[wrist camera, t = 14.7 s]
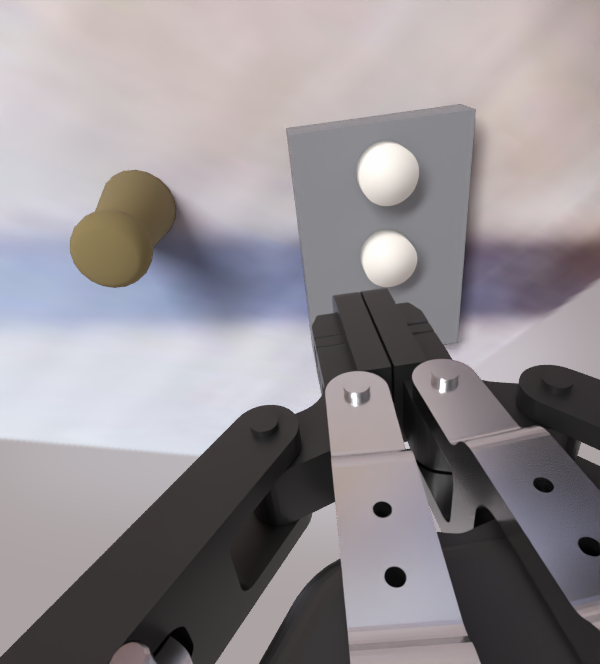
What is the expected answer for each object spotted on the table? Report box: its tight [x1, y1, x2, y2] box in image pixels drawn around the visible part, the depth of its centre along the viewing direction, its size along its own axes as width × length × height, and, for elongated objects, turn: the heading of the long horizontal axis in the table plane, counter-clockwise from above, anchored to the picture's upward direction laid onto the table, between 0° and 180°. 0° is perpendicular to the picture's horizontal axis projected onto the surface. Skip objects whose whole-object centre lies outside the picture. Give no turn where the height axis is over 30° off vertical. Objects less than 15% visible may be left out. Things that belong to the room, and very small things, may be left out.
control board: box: [286, 104, 476, 361], centre depth 42 cm, size 21×14×3 cm, turn 7°
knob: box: [356, 140, 419, 206], centre depth 37 cm, size 4×4×5 cm
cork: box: [70, 170, 176, 288], centre depth 35 cm, size 6×6×11 cm
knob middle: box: [360, 229, 417, 287], centre depth 41 cm, size 4×4×5 cm
